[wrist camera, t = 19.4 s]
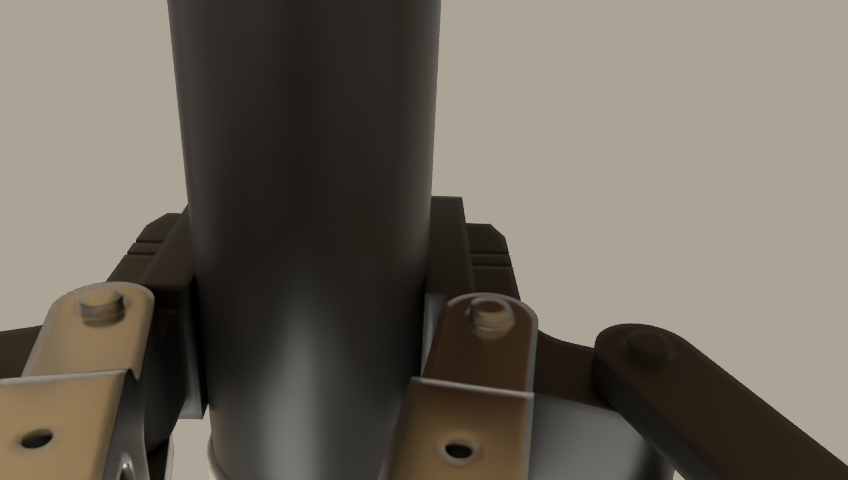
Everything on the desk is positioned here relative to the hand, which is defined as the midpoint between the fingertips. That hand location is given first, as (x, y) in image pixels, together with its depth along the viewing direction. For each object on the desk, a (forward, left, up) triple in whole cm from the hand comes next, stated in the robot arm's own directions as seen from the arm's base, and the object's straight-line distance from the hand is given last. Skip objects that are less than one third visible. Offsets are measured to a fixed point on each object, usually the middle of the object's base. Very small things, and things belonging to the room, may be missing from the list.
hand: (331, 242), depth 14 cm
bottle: (-3, 0, -6) cm, 7 cm away
